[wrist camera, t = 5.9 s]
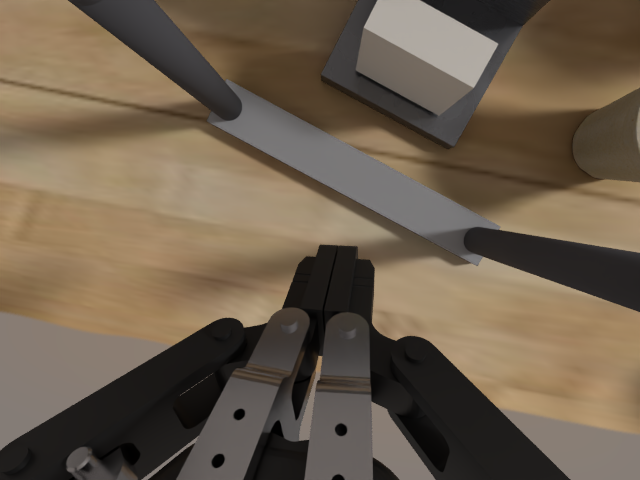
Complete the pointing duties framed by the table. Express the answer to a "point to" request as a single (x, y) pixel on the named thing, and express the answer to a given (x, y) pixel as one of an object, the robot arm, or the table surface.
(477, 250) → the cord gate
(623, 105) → the flower pot
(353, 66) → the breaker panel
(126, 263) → the table surface
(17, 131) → the table surface
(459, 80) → the block
